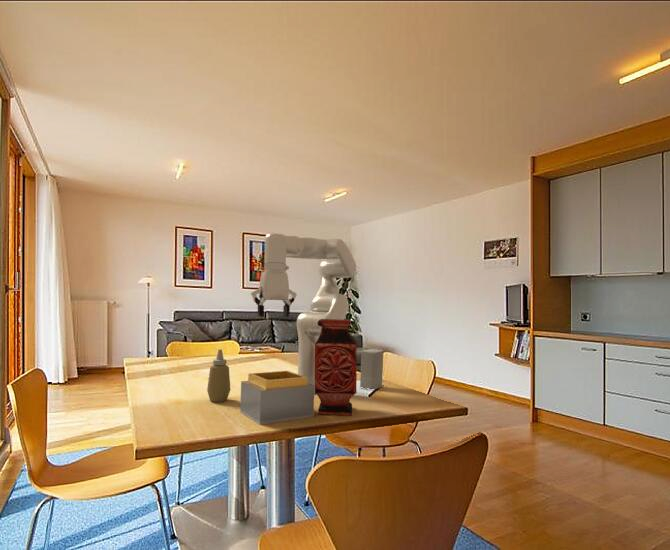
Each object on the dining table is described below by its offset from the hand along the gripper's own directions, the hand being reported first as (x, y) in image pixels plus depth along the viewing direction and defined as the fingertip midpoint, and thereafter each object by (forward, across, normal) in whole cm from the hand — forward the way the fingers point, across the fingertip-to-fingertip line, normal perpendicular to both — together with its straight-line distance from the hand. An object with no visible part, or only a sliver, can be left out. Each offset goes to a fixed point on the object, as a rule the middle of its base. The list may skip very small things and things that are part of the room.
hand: (273, 316), depth 160 cm
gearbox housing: (+30, +5, +15) cm, 34 cm away
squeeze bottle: (+30, +15, -12) cm, 36 cm away
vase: (+31, -14, +20) cm, 39 cm away
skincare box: (+31, -48, -5) cm, 57 cm away
